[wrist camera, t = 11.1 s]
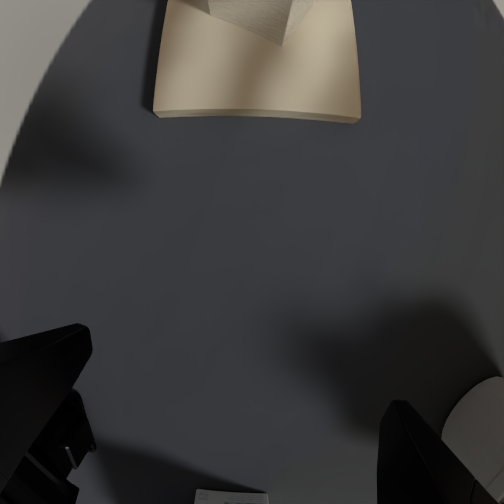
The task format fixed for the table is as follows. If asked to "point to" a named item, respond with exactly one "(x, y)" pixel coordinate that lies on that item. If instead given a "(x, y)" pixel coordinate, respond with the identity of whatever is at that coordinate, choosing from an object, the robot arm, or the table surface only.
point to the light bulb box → (229, 497)
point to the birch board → (258, 66)
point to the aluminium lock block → (263, 16)
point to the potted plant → (480, 434)
